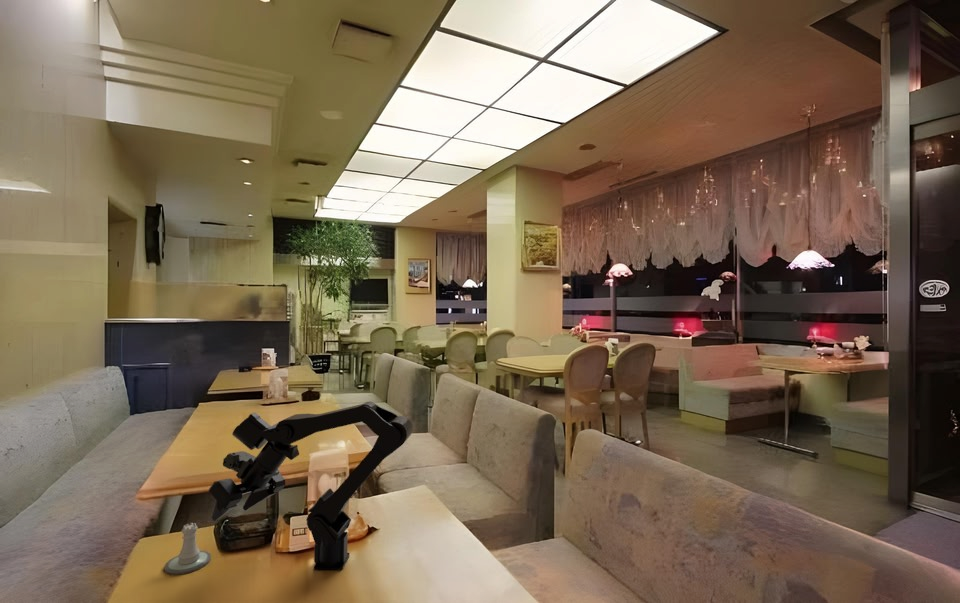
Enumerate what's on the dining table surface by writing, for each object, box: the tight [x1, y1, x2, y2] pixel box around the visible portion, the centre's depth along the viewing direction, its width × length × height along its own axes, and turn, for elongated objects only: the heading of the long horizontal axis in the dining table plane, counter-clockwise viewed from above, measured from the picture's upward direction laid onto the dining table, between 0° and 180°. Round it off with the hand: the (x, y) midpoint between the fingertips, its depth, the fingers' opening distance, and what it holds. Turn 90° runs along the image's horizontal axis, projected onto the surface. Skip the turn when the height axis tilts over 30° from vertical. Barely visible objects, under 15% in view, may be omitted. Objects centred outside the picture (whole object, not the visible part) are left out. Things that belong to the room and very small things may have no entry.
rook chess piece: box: [177, 522, 201, 565], centre depth 105 cm, size 4×4×8 cm
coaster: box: [164, 550, 212, 576], centre depth 105 cm, size 9×9×1 cm
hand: (229, 514), depth 108 cm, fingers open, 9 cm apart
